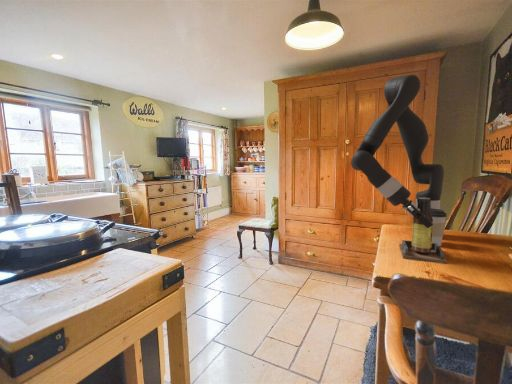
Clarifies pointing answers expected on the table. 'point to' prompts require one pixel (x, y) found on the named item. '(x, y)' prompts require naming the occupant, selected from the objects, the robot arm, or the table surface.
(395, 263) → the table surface
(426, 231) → the sauce bottle
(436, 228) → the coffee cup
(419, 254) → the keeper cradle
